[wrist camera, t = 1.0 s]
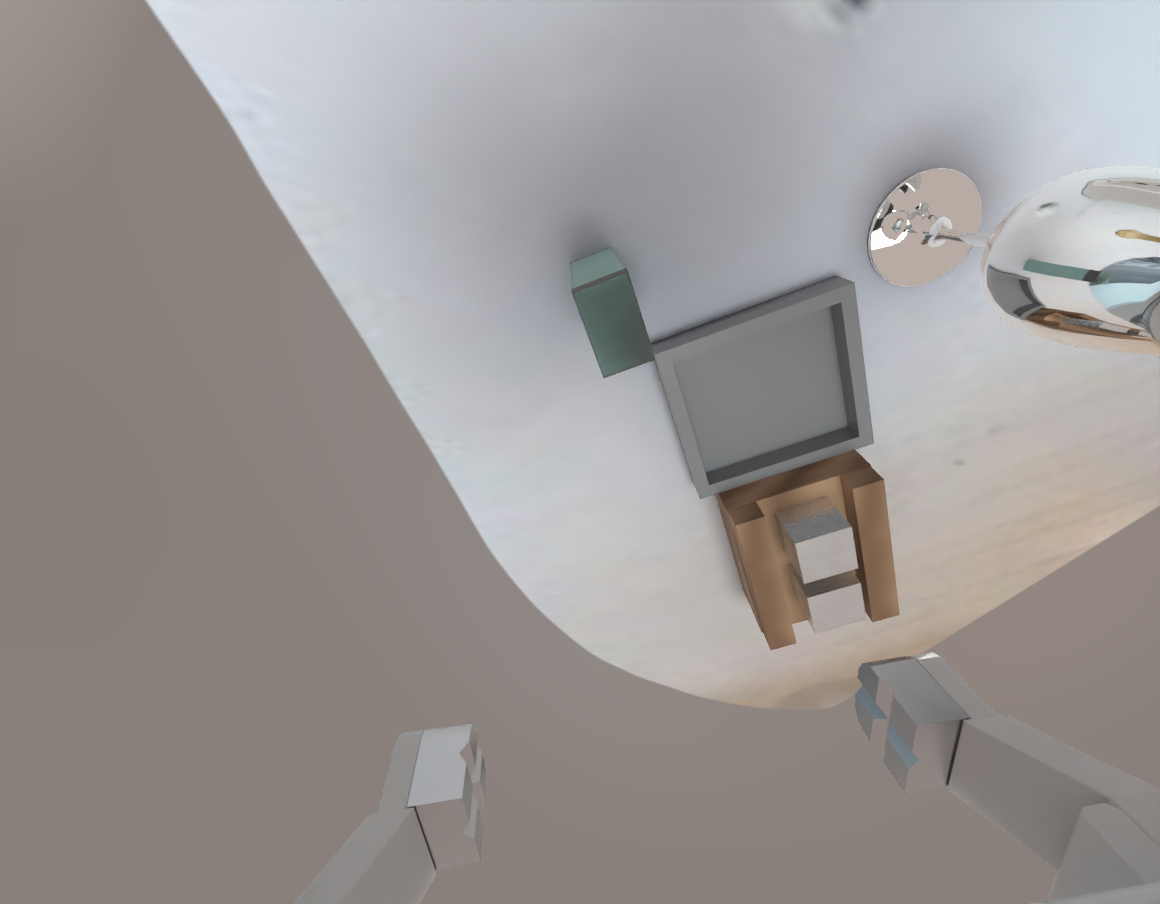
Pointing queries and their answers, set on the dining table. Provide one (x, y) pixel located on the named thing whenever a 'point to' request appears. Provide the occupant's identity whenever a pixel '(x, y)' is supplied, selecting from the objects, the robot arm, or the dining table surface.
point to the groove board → (762, 545)
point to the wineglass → (1039, 252)
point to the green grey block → (610, 312)
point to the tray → (768, 387)
